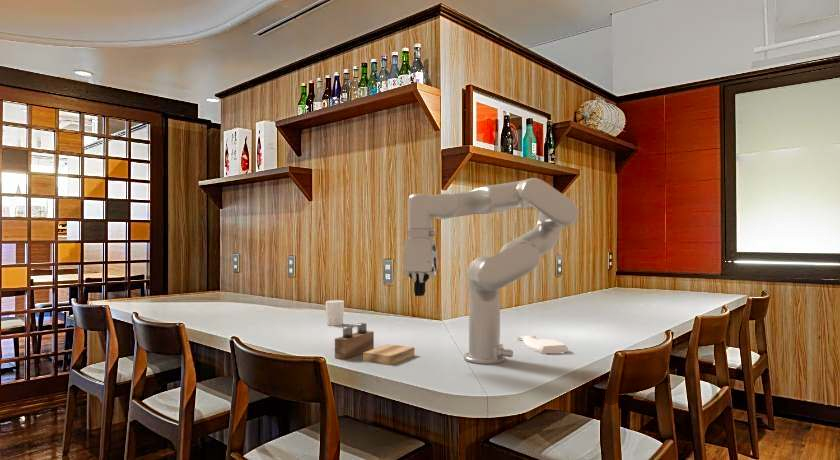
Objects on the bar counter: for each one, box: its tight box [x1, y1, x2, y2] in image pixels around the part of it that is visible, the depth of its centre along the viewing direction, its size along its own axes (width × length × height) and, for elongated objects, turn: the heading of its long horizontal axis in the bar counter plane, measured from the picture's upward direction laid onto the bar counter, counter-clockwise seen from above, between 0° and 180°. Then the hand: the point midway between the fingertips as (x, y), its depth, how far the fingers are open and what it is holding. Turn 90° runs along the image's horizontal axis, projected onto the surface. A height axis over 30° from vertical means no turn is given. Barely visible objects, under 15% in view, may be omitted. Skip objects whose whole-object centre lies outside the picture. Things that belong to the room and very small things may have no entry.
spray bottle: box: [516, 334, 568, 355], centre depth 181 cm, size 3×11×24 cm
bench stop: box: [334, 322, 375, 360], centre depth 169 cm, size 4×16×9 cm, turn 152°
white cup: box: [325, 299, 345, 327], centre depth 225 cm, size 8×8×10 cm
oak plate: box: [362, 343, 415, 366], centre depth 163 cm, size 10×14×3 cm
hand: (419, 295), depth 158 cm, fingers closed
